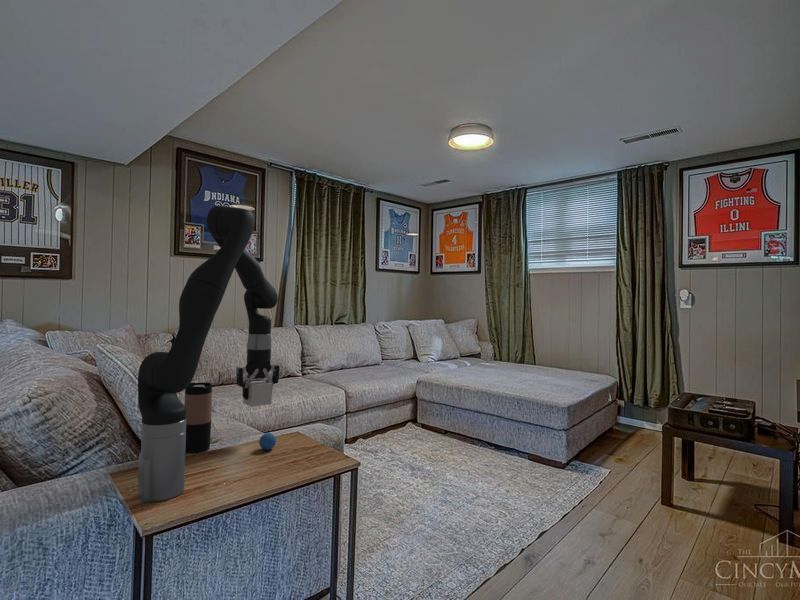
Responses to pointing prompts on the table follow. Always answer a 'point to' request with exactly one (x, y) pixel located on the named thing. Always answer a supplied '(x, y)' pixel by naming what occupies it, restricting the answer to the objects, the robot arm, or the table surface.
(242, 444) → the table surface
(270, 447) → the ball
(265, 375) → the robot arm
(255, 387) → the matte gray cube
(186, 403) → the travel mug
